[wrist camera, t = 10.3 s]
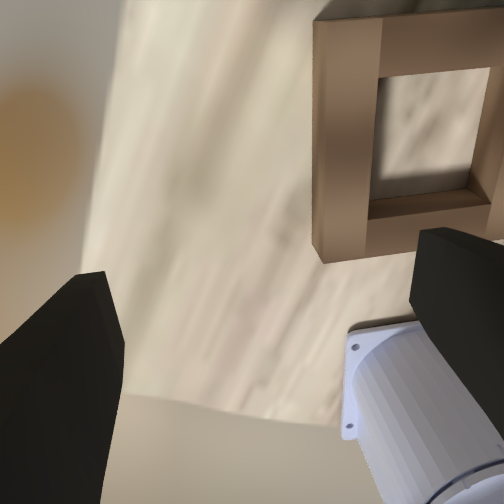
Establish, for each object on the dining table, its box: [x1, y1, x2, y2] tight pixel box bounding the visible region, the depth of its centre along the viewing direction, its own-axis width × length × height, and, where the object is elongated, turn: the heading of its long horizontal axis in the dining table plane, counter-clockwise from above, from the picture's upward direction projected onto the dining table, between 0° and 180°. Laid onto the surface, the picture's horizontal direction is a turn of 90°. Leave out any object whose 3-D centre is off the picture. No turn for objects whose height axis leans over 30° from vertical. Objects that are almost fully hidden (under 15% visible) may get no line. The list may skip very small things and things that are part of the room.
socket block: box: [312, 5, 504, 264], centre depth 19 cm, size 10×10×2 cm
